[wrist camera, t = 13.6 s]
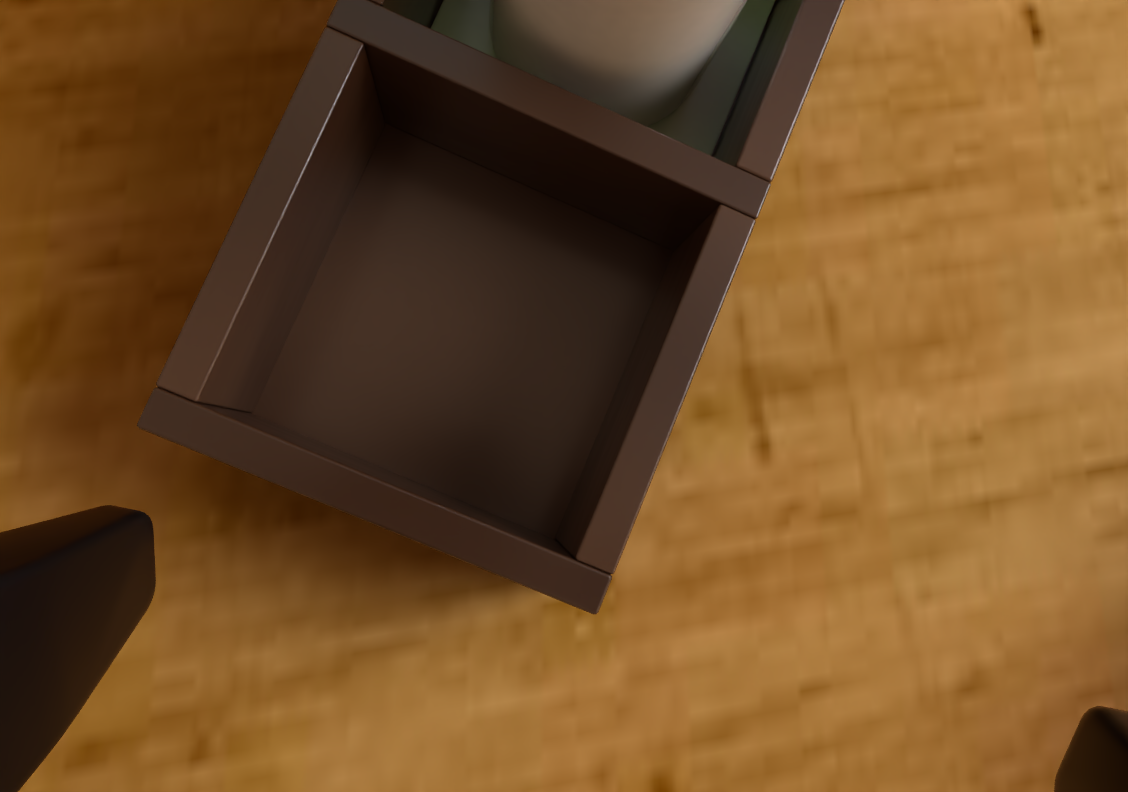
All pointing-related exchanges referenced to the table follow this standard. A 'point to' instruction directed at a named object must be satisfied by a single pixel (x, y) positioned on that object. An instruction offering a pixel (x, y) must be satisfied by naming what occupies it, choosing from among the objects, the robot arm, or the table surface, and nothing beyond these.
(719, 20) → the white bottle
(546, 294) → the organiser
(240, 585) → the table surface
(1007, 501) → the table surface
